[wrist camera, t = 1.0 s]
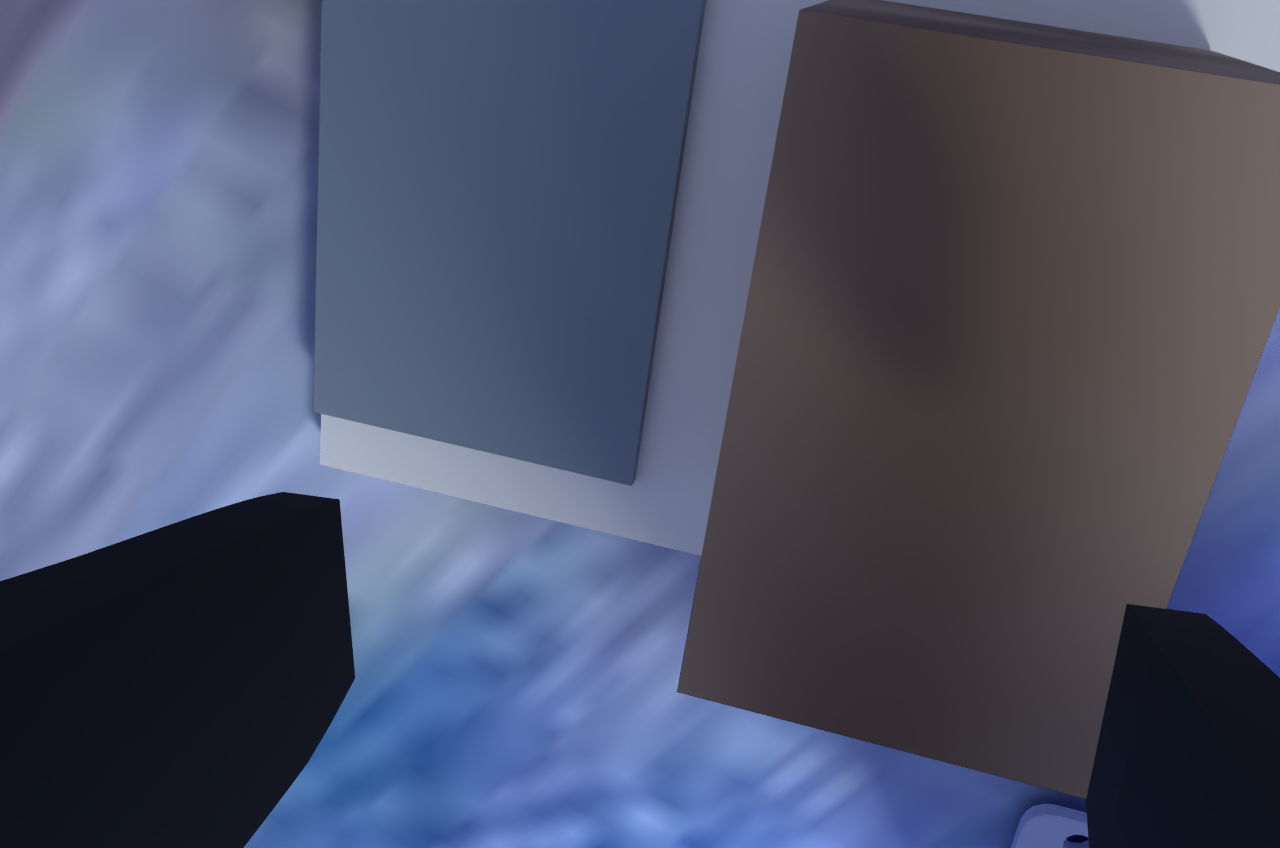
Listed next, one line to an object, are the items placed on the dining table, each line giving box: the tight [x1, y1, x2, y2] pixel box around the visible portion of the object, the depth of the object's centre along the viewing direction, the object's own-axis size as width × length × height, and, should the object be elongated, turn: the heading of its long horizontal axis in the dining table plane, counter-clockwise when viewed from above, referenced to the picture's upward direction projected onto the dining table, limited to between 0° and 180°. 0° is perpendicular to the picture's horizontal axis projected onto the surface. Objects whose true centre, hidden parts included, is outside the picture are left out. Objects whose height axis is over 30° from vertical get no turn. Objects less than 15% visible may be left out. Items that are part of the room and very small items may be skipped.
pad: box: [313, 0, 706, 486], centre depth 19 cm, size 6×9×1 cm
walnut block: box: [677, 0, 1280, 799], centre depth 15 cm, size 5×8×6 cm, turn 173°
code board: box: [320, 0, 1280, 556], centre depth 18 cm, size 14×11×1 cm
